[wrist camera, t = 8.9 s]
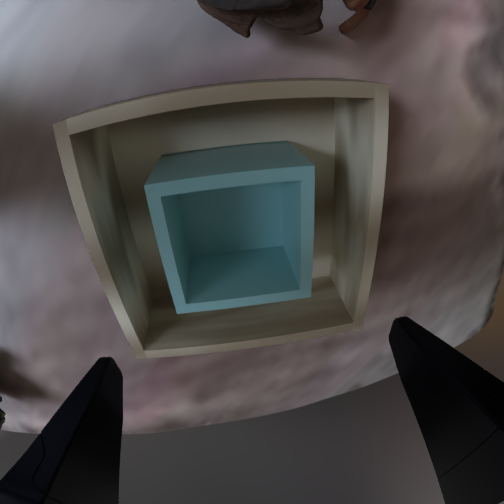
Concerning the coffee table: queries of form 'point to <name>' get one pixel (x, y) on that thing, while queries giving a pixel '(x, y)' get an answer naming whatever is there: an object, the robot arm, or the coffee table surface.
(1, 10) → the coffee table surface
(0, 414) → the mineral specimen
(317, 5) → the brown leather pouch belt
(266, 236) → the small crate
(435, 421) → the robot arm
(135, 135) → the big crate
